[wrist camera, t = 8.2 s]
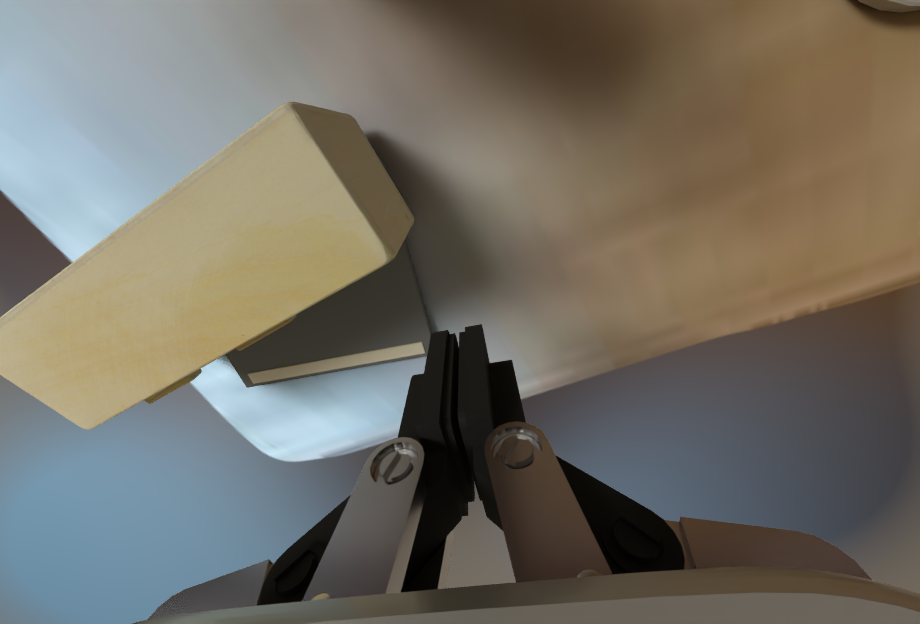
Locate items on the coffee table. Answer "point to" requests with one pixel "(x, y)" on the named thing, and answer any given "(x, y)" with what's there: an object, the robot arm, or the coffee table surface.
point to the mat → (345, 329)
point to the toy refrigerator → (208, 267)
